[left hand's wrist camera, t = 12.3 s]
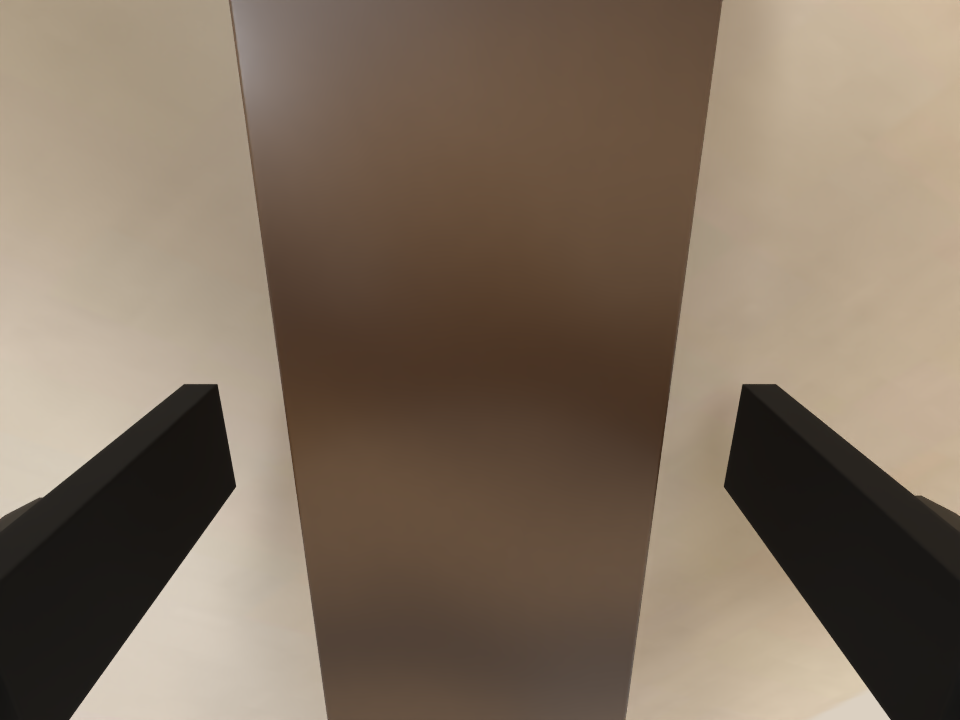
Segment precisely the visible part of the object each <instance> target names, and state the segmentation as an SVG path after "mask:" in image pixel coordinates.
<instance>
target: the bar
mask: <svg viewBox="0 0 960 720" xmlns="http://www.w3.org/2000/svg"><path fill="white" fill-rule="evenodd" d="M229 4H230V11H231V19H232V26H233V33H234V41H235V48H236V55H237V62H238V70H239V77H240V84H241V92H242V99H243V106H244V113H245V121H246V128H247V135H248V143H249V150H250V157H251V164H252V172H253V179H254V186H255V194H256V201H257V208H258V215H259V223H260V230H261V237H262V245H263V252H264V259H265V267H266V274H267V281H268V288H269V296H270V303H271V310H272V318H273V325H274V332H275V339H276V347H277V354H278V361H279V369H280V376H281V383H282V390H283V398H284V405H285V412H286V420H287V427H288V434H289V441H290V449H291V456H292V463H293V471H294V478H295V485H296V492H297V500H298V507H299V514H300V522H301V529H302V536H303V543H304V551H305V558H306V565H307V573H308V580H309V587H310V594H311V602H312V609H313V616H314V624H315V631H316V638H317V646H318V653H319V660H320V667H321V675H322V682H323V689H324V697H325V704H326V711H327V718H328V720H625V719H626V712H627V704H628V697H629V690H630V682H631V675H632V667H633V660H634V652H635V645H636V637H637V630H638V623H639V615H640V608H641V600H642V593H643V585H644V578H645V571H646V563H647V556H648V548H649V541H650V533H651V526H652V519H653V511H654V504H655V496H656V489H657V481H658V474H659V467H660V459H661V452H662V444H663V437H664V429H665V422H666V415H667V407H668V400H669V392H670V385H671V377H672V370H673V363H674V355H675V348H676V340H677V333H678V325H679V318H680V311H681V303H682V296H683V288H684V281H685V273H686V266H687V259H688V251H689V244H690V236H691V229H692V221H693V214H694V207H695V199H696V192H697V184H698V177H699V169H700V162H701V155H702V147H703V140H704V132H705V125H706V117H707V110H708V103H709V95H710V88H711V80H712V73H713V65H714V58H715V51H716V43H717V36H718V28H719V21H720V13H721V6H722V0H229Z"/></svg>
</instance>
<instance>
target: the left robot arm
mask: <svg viewBox="0 0 960 720" xmlns="http://www.w3.org/2000/svg"><path fill="white" fill-rule="evenodd" d="M235 488H236V483H235V478H234V472H233V467H232V461H231V456H230V450H229V445H228V439H227V434H226V428H225V423H224V418H223V412H222V407H221V401H220V396H219V390H218V385H217V384H184V385H183V386H181V387H180V388H179V389H178V390H176V391H175V392H174V393H173V394H171V395H170V396H169V397H168V398H166V399H165V400H164V401H163V402H161V403H160V404H159V405H158V406H156V407H155V408H154V409H153V410H151V411H150V412H149V413H148V414H146V415H145V416H144V417H143V418H142V419H140V420H139V421H138V422H137V423H135V424H134V425H133V426H132V427H130V428H129V429H128V430H127V431H125V432H124V433H123V434H122V435H120V436H119V437H118V438H117V439H115V440H114V441H113V442H112V443H110V444H109V445H108V446H107V447H105V448H104V449H103V450H102V451H100V452H99V453H98V454H97V455H96V456H94V457H93V458H92V459H91V460H89V461H88V462H87V463H86V464H84V465H83V466H82V467H81V468H79V469H78V470H77V471H76V472H74V473H73V474H72V475H71V476H69V477H68V478H67V479H66V480H64V481H63V482H62V483H61V484H59V485H58V486H57V487H56V488H55V489H53V490H52V491H51V492H50V493H48V494H47V495H46V496H45V497H43V498H38V499H36V500H34V501H32V502H30V503H28V504H26V505H24V506H22V507H20V508H18V509H16V510H15V511H13V512H11V513H9V514H7V515H5V516H4V517H2V518H1V519H0V720H69V719H70V718H71V717H72V715H73V714H74V712H75V711H76V710H77V708H78V707H79V705H80V704H81V703H82V701H83V700H84V698H85V697H86V696H87V694H88V693H89V691H90V690H91V689H92V687H93V686H94V684H95V683H96V682H97V680H98V679H99V677H100V676H101V675H102V673H103V672H104V671H105V669H106V668H107V666H108V665H109V664H110V662H111V661H112V659H113V658H114V657H115V655H116V654H117V652H118V651H119V650H120V648H121V647H122V645H123V644H124V643H125V641H126V640H127V638H128V637H129V636H130V634H131V633H132V631H133V630H134V629H135V627H136V626H137V624H138V623H139V622H140V620H141V619H142V617H143V616H144V615H145V613H146V612H147V610H148V609H149V608H150V606H151V605H152V603H153V602H154V601H155V599H156V598H157V597H158V595H159V594H160V592H161V591H162V590H163V588H164V587H165V585H166V584H167V583H168V581H169V580H170V578H171V577H172V576H173V574H174V573H175V571H176V570H177V569H178V567H179V566H180V564H181V563H182V562H183V560H184V559H185V557H186V556H187V555H188V553H189V552H190V550H191V549H192V548H193V546H194V545H195V543H196V542H197V541H198V539H199V538H200V536H201V535H202V534H203V532H204V531H205V529H206V528H207V527H208V525H209V524H210V522H211V521H212V520H213V518H214V517H215V516H216V514H217V513H218V511H219V510H220V509H221V507H222V506H223V504H224V503H225V502H226V500H227V499H228V497H229V496H230V495H231V493H232V492H233V490H234V489H235ZM724 488H725V489H726V490H727V492H728V493H729V495H730V496H731V497H732V499H733V500H734V502H735V503H736V504H737V506H738V507H739V509H740V510H741V511H742V513H743V514H744V515H745V517H746V518H747V520H748V521H749V522H750V524H751V525H752V527H753V528H754V529H755V531H756V532H757V534H758V535H759V536H760V538H761V539H762V541H763V542H764V543H765V545H766V546H767V548H768V549H769V550H770V552H771V553H772V555H773V556H774V557H775V559H776V560H777V562H778V563H779V564H780V566H781V567H782V569H783V570H784V571H785V573H786V574H787V576H788V577H789V578H790V580H791V581H792V583H793V584H794V585H795V587H796V588H797V590H798V591H799V592H800V594H801V595H802V596H803V598H804V599H805V601H806V602H807V603H808V605H809V606H810V608H811V609H812V610H813V612H814V613H815V615H816V616H817V617H818V619H819V620H820V622H821V623H822V624H823V626H824V627H825V629H826V630H827V631H828V633H829V634H830V636H831V637H832V638H833V640H834V641H835V643H836V644H837V645H838V647H839V648H840V650H841V651H842V652H843V654H844V655H845V657H846V658H847V659H848V661H849V662H850V664H851V665H852V666H853V668H854V669H855V671H856V672H857V673H858V675H859V676H860V677H861V679H862V680H863V682H864V683H865V684H866V686H867V687H868V689H869V690H870V691H871V693H872V694H873V696H874V697H875V698H876V700H877V701H878V702H879V704H880V705H881V707H882V708H883V710H884V711H885V712H886V714H887V715H888V717H889V718H890V719H891V720H960V516H959V515H957V514H956V513H954V512H952V511H950V510H948V509H946V508H944V507H942V506H940V505H938V504H936V503H935V502H933V501H931V500H929V499H927V498H925V497H923V496H914V495H913V494H912V493H910V492H909V491H908V490H907V489H906V488H904V487H903V486H902V485H901V484H899V483H898V482H897V481H896V480H894V479H893V478H892V477H891V476H889V475H888V474H887V473H886V472H884V471H883V470H882V469H881V468H879V467H878V466H877V465H876V464H874V463H873V462H872V461H871V460H869V459H868V458H867V457H866V456H864V455H863V454H862V453H861V452H860V451H858V450H857V449H856V448H855V447H853V446H852V445H851V444H850V443H848V442H847V441H846V440H845V439H843V438H842V437H841V436H840V435H838V434H837V433H836V432H835V431H833V430H832V429H831V428H830V427H828V426H827V425H826V424H825V423H823V422H822V421H821V420H820V419H819V418H817V417H816V416H815V415H814V414H812V413H811V412H810V411H809V410H807V409H806V408H805V407H804V406H802V405H801V404H800V403H799V402H797V401H796V400H795V399H794V398H792V397H791V396H790V395H789V394H787V393H786V392H785V391H784V390H782V389H781V388H780V387H779V386H777V385H776V384H743V385H742V390H741V396H740V401H739V407H738V412H737V418H736V423H735V428H734V434H733V439H732V445H731V450H730V456H729V461H728V467H727V472H726V478H725V483H724Z"/></svg>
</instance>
